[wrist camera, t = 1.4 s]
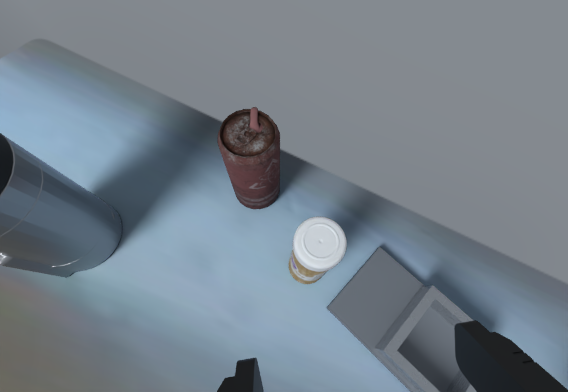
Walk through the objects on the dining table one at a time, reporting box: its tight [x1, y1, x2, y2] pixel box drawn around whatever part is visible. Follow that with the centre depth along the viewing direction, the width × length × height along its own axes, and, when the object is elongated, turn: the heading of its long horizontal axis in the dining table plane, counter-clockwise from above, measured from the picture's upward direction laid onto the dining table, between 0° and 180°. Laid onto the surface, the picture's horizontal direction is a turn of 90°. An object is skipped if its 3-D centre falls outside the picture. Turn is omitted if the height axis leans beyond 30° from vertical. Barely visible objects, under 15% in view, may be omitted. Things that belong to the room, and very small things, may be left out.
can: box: [217, 107, 280, 209], centre depth 35 cm, size 6×6×14 cm
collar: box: [375, 285, 477, 392], centre depth 32 cm, size 9×9×3 cm
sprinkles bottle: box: [289, 217, 347, 284], centre depth 31 cm, size 5×5×14 cm
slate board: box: [327, 247, 460, 392], centre depth 34 cm, size 10×18×1 cm, turn 46°
